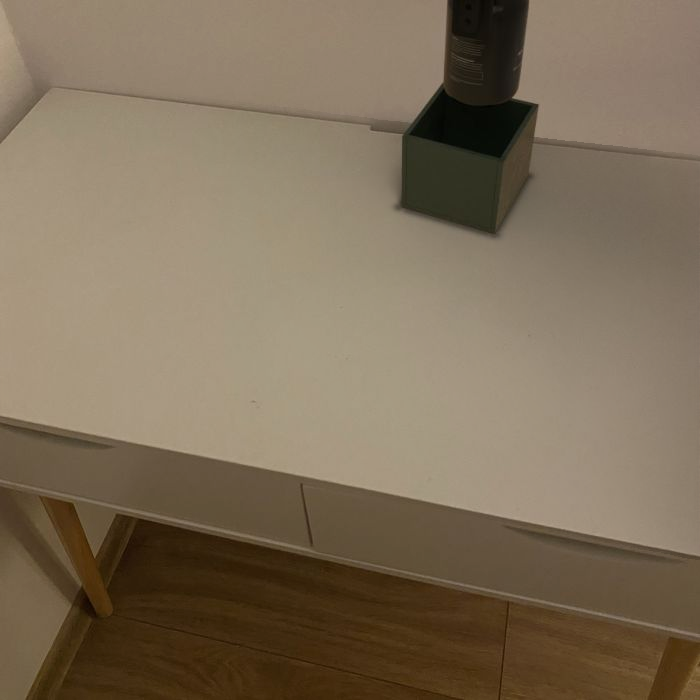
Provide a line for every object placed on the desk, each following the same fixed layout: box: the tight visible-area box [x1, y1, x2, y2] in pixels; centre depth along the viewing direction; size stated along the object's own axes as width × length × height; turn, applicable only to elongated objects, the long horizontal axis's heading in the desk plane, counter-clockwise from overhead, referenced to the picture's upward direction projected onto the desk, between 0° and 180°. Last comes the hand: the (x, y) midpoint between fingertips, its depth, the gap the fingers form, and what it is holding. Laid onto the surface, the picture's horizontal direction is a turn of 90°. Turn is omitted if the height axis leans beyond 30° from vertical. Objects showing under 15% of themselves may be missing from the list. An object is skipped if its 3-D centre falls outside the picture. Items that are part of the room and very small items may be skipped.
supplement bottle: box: [443, 0, 530, 108], centre depth 70 cm, size 7×7×12 cm
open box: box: [400, 81, 540, 235], centre depth 81 cm, size 10×10×8 cm
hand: (487, 13), depth 69 cm, fingers closed on supplement bottle, 6 cm apart
